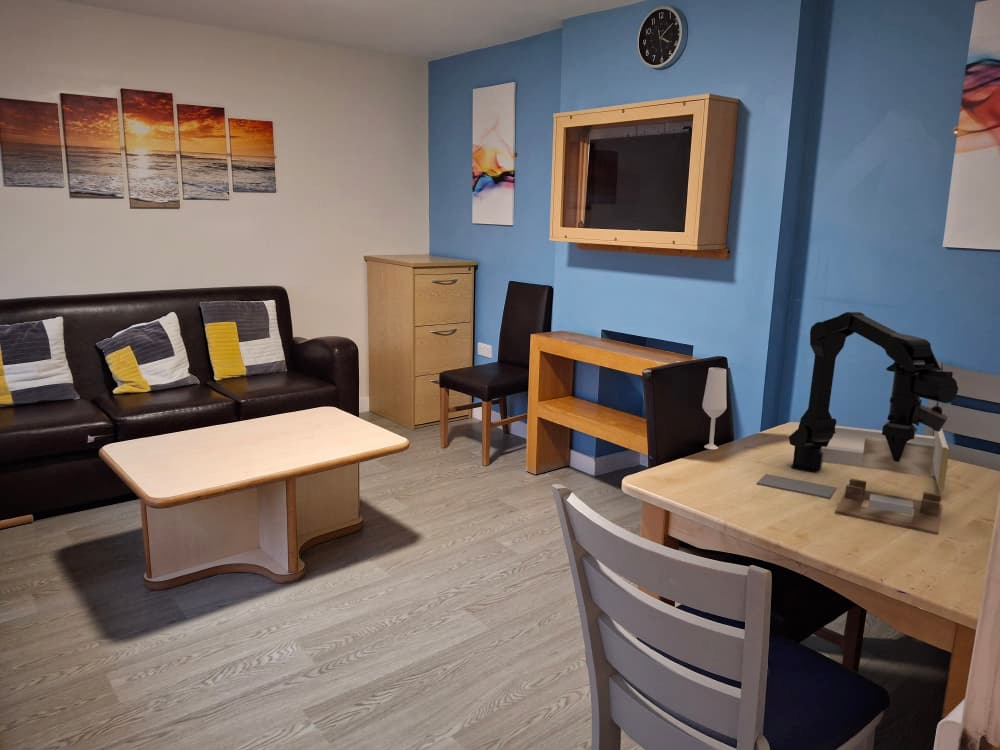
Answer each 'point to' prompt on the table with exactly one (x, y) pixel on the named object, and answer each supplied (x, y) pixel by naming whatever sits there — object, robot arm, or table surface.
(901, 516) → the offcut lower
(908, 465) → the plywood sheet
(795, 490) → the slate mat
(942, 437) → the baseboard
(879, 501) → the offcut upper
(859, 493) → the offcut rack
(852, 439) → the crown molding
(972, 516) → the table surface
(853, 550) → the table surface
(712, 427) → the champagne flute
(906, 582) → the table surface
